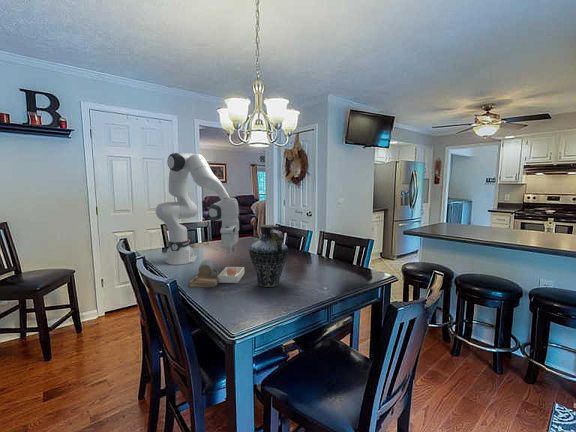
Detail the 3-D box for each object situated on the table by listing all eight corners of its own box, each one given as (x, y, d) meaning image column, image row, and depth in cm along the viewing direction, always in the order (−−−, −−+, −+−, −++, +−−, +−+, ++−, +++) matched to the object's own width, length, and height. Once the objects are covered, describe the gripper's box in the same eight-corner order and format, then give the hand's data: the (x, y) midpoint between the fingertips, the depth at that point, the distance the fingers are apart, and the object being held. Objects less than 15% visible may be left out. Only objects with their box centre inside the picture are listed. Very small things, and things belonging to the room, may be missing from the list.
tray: (198, 278, 160) (198, 274, 159) (222, 279, 159) (222, 275, 158) (188, 286, 147) (188, 282, 146) (214, 287, 146) (214, 283, 146)
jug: (242, 284, 151) (240, 225, 148) (270, 275, 164) (270, 221, 161) (268, 294, 136) (268, 229, 133) (298, 284, 150) (298, 225, 146)
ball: (228, 275, 163) (228, 266, 163) (237, 275, 163) (237, 266, 162) (225, 278, 158) (225, 268, 158) (235, 278, 158) (234, 269, 158)
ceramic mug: (197, 277, 161) (197, 263, 160) (200, 273, 169) (199, 260, 168) (218, 277, 162) (217, 263, 162) (219, 272, 171) (219, 259, 170)
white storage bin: (226, 272, 169) (226, 267, 169) (244, 273, 169) (244, 267, 168) (217, 282, 153) (217, 275, 153) (237, 283, 152) (237, 276, 152)
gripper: (230, 225, 168) (230, 249, 170) (219, 230, 148) (219, 257, 149) (241, 225, 168) (241, 249, 169) (231, 230, 147) (232, 258, 149)
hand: (231, 253), depth 159 cm, fingers open, 8 cm apart
